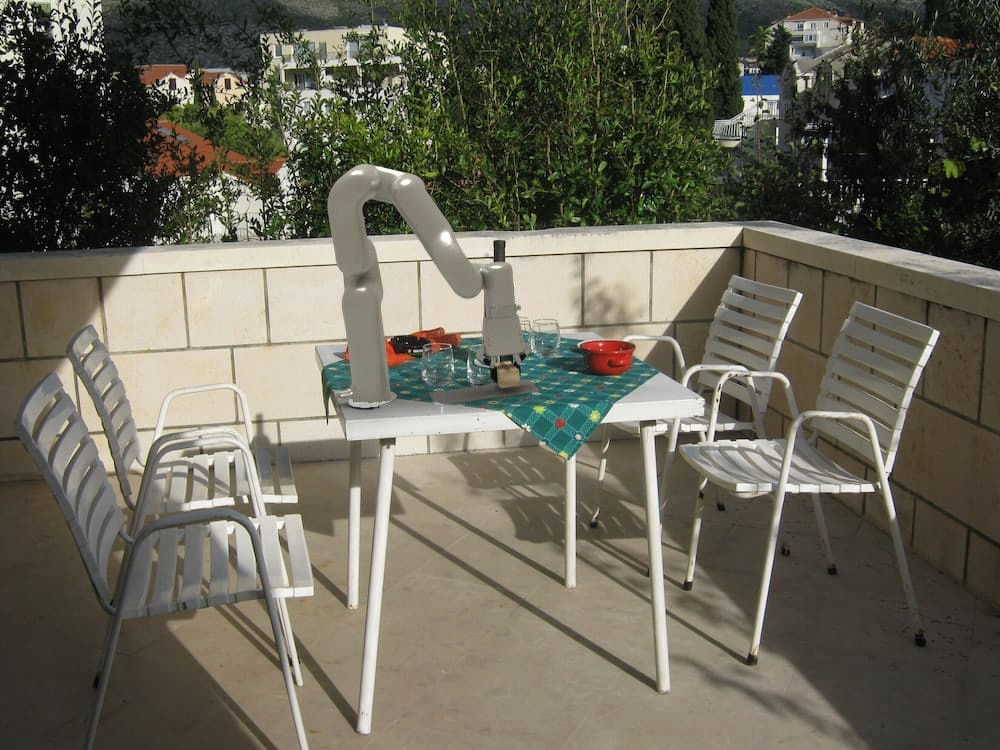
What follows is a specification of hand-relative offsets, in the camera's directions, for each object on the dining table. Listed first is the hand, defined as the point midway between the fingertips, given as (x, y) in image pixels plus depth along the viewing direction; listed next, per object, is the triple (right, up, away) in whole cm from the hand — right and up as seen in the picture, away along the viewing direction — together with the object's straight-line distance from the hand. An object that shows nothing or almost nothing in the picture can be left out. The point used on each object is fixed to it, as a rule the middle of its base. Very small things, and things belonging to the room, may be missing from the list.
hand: (505, 379), depth 277 cm
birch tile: (0, -1, 0) cm, 1 cm away
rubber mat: (-6, -4, 0) cm, 7 cm away
